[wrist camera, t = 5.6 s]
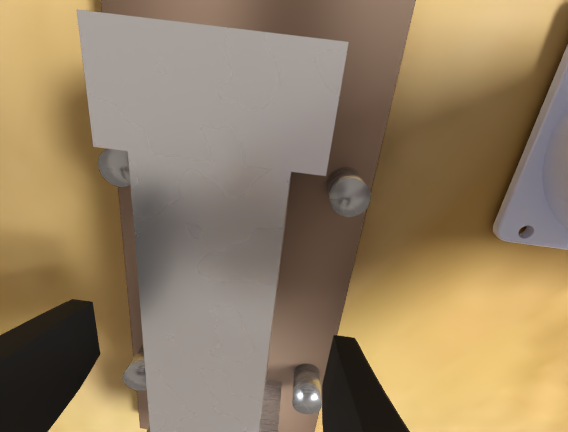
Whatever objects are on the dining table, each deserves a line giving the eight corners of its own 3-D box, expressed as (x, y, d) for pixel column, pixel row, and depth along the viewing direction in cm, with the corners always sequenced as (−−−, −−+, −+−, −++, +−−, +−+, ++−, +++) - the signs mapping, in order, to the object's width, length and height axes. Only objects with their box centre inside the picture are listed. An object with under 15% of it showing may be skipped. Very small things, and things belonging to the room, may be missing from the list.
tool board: (404, 8, 9) (437, -19, 7) (309, 432, 17) (310, 486, 15) (117, -27, 10) (57, -65, 7) (148, 409, 17) (124, 459, 15)
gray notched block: (330, 61, 9) (348, 41, 6) (276, 418, 15) (267, 523, 12) (167, 42, 9) (76, 9, 6) (177, 404, 15) (136, 504, 12)
